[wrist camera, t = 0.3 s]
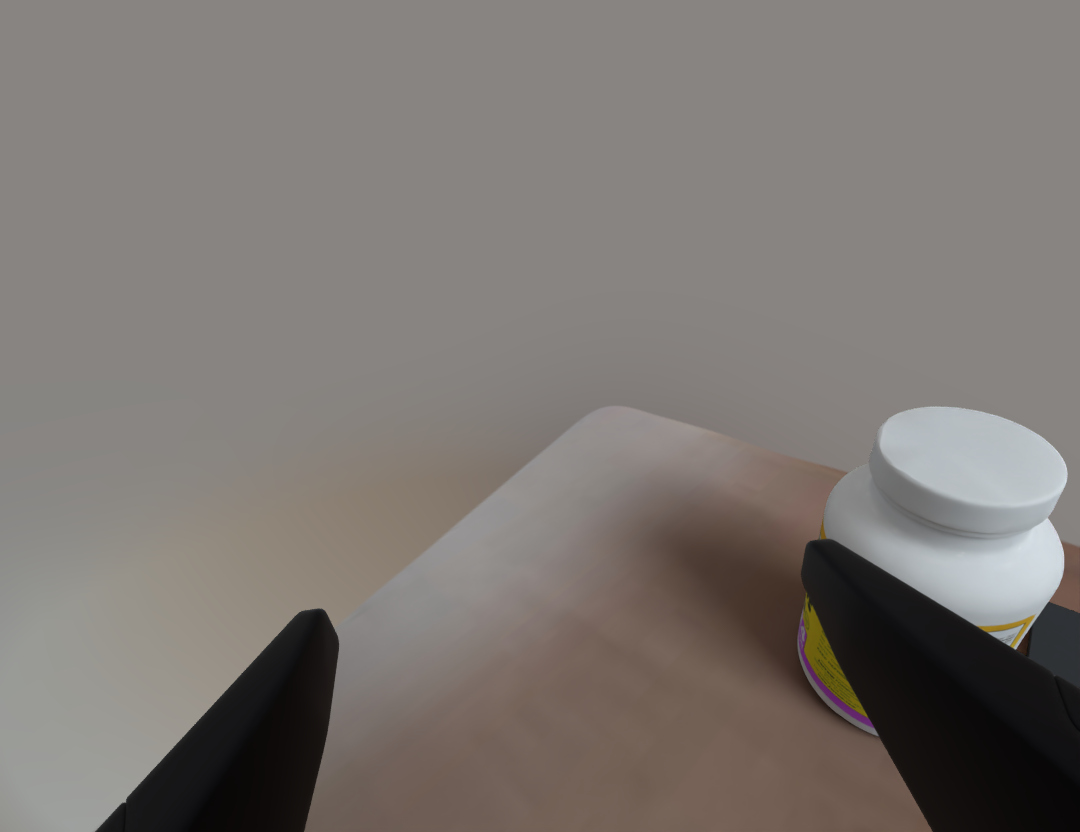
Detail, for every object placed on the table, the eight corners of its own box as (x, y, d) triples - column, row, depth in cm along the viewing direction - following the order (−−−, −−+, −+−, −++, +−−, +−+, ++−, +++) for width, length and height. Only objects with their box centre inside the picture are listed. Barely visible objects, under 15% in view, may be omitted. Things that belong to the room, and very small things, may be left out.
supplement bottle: (847, 580, 27) (911, 366, 20) (1000, 679, 22) (1160, 447, 15) (762, 659, 25) (799, 448, 17) (915, 791, 20) (1057, 578, 12)
